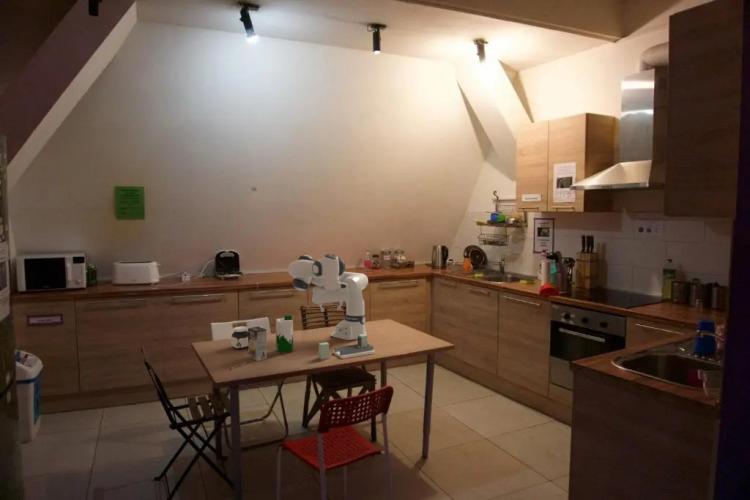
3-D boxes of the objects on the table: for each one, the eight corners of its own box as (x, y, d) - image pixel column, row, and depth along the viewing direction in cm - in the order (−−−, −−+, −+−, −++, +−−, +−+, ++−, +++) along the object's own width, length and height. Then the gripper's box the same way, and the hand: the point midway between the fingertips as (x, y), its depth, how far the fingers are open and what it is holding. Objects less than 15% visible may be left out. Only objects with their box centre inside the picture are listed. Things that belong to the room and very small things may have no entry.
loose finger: (329, 358, 272) (329, 343, 271) (321, 359, 269) (321, 344, 269) (326, 356, 275) (326, 341, 274) (318, 357, 273) (318, 343, 272)
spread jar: (229, 348, 288) (228, 328, 287) (241, 343, 298) (240, 324, 297) (247, 351, 284) (247, 330, 283) (258, 345, 294) (258, 326, 293)
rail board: (342, 358, 271) (342, 341, 270) (332, 352, 281) (332, 336, 280) (374, 353, 281) (374, 336, 280) (364, 347, 291) (364, 331, 290)
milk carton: (294, 352, 282) (294, 317, 280) (278, 354, 278) (277, 318, 276) (290, 348, 290) (290, 313, 288) (275, 349, 286) (274, 315, 284)
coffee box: (247, 357, 272) (247, 328, 271) (258, 354, 277) (257, 326, 275) (256, 361, 266) (256, 331, 264) (267, 358, 270) (267, 329, 269)
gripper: (314, 287, 263) (314, 313, 264) (350, 284, 272) (350, 310, 274) (310, 285, 269) (310, 311, 270) (345, 283, 278) (345, 307, 279)
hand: (330, 310), depth 272 cm, fingers open, 8 cm apart
